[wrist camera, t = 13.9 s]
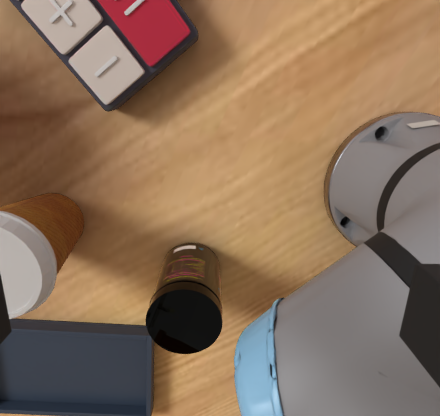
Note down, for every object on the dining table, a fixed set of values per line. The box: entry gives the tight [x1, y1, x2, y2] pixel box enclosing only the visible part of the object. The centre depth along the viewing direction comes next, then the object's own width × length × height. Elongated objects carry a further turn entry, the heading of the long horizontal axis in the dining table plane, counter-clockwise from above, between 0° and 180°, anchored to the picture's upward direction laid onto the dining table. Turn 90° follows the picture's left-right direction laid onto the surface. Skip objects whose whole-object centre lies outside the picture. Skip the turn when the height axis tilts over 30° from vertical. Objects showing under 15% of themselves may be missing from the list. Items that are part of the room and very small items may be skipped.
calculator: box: [10, 0, 198, 111], centre depth 29 cm, size 11×4×15 cm
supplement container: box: [146, 243, 222, 354], centre depth 34 cm, size 7×7×10 cm
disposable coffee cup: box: [0, 193, 84, 319], centre depth 31 cm, size 10×10×12 cm
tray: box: [0, 319, 154, 416], centre depth 42 cm, size 21×13×2 cm, turn 86°
